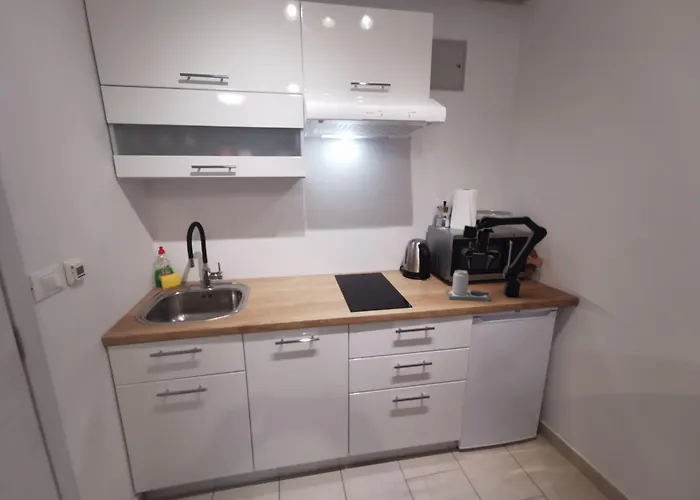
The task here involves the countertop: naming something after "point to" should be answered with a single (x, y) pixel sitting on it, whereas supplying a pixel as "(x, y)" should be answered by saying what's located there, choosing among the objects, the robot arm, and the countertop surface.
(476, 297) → the grey flat device
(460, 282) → the can
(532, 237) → the robot arm
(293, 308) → the countertop surface
